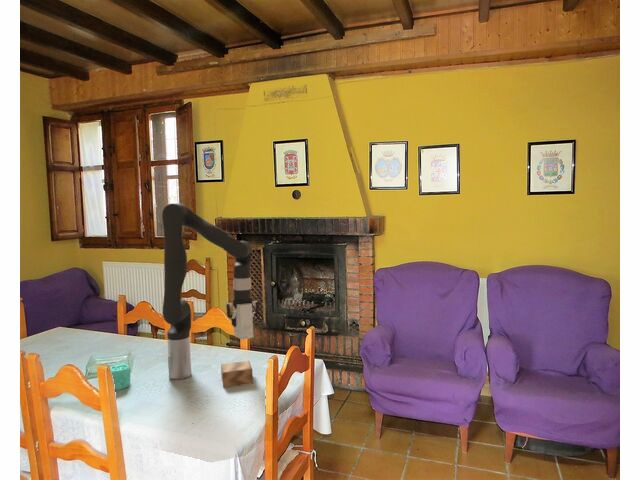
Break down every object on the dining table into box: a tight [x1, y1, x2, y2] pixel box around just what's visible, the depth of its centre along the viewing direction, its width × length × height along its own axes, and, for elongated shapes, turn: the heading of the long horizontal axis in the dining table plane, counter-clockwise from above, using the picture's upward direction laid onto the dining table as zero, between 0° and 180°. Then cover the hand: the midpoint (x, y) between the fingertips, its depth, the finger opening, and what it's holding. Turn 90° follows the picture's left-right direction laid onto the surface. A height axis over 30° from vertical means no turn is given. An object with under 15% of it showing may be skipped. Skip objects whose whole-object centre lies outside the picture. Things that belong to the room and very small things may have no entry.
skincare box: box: [232, 303, 254, 341], centre depth 180 cm, size 8×6×15 cm
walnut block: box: [220, 360, 254, 388], centre depth 177 cm, size 12×10×6 cm
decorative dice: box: [109, 363, 131, 391], centre depth 174 cm, size 8×8×8 cm
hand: (242, 325), depth 181 cm, fingers closed on skincare box, 6 cm apart
